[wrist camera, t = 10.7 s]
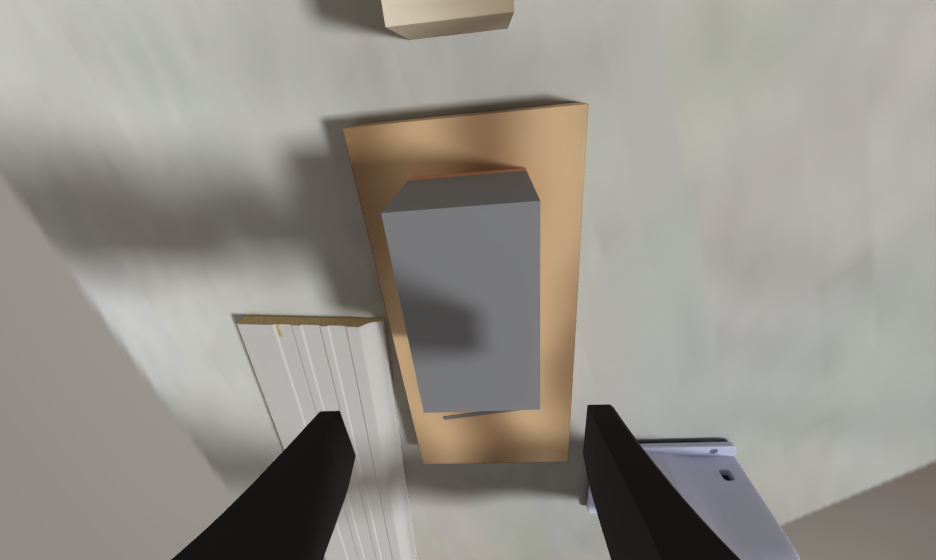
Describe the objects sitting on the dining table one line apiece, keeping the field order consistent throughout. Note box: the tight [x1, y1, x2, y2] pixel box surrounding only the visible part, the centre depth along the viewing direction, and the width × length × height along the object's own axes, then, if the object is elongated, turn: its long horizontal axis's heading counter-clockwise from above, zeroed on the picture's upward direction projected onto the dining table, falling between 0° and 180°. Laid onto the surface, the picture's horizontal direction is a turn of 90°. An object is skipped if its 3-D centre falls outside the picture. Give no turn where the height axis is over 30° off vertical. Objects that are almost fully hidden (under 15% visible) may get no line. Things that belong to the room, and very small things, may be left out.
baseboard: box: [237, 315, 417, 560], centre depth 28 cm, size 30×3×10 cm
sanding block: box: [381, 168, 540, 413], centre depth 16 cm, size 5×9×5 cm, turn 5°
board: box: [343, 102, 589, 464], centre depth 20 cm, size 10×22×2 cm, turn 5°
